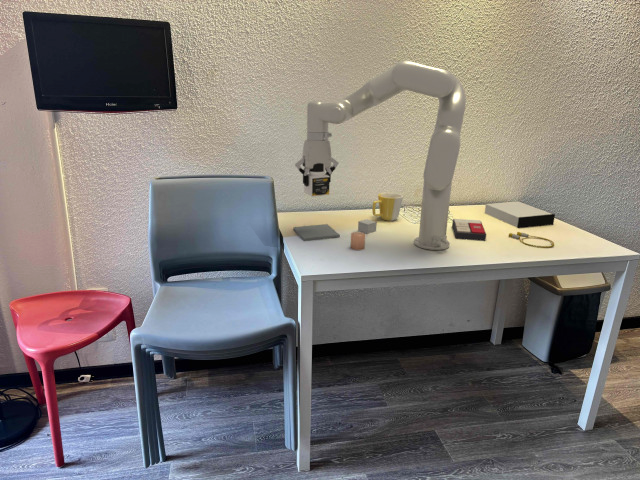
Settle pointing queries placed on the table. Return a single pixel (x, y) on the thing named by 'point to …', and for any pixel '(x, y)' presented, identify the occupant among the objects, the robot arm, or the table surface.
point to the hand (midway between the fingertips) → (316, 184)
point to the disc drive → (519, 214)
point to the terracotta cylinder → (357, 241)
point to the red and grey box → (468, 229)
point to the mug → (388, 205)
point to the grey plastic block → (367, 226)
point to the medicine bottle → (317, 181)
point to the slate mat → (316, 232)
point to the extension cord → (528, 238)
